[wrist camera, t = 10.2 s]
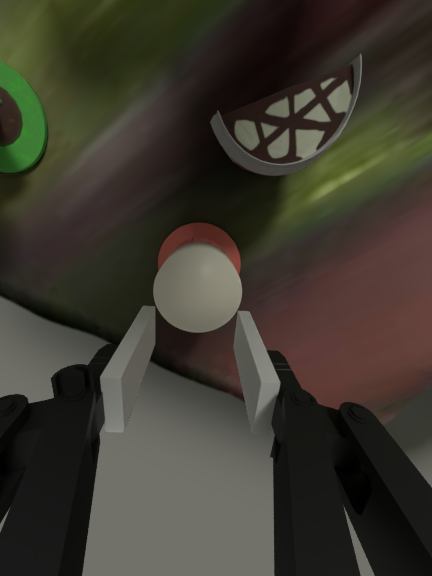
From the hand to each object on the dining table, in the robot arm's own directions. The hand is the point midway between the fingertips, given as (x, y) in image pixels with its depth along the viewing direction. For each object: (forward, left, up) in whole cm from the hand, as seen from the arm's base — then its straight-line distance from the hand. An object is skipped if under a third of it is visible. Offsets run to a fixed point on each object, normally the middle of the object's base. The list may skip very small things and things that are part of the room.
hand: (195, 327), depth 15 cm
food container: (-14, +7, -18) cm, 24 cm away
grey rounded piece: (0, 0, -13) cm, 13 cm away
